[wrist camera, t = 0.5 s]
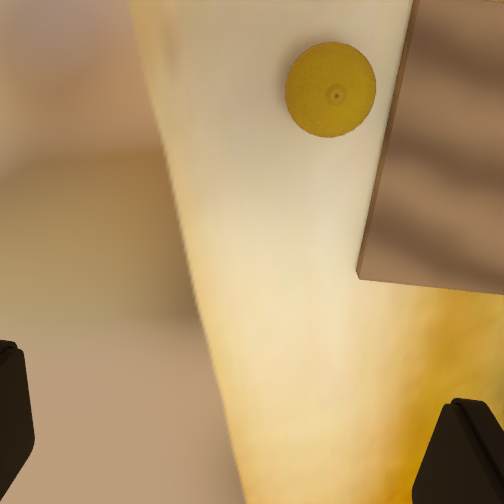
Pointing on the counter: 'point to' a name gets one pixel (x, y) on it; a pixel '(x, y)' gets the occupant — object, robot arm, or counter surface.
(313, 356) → the counter surface
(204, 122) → the counter surface
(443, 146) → the serving board
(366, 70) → the lemon
